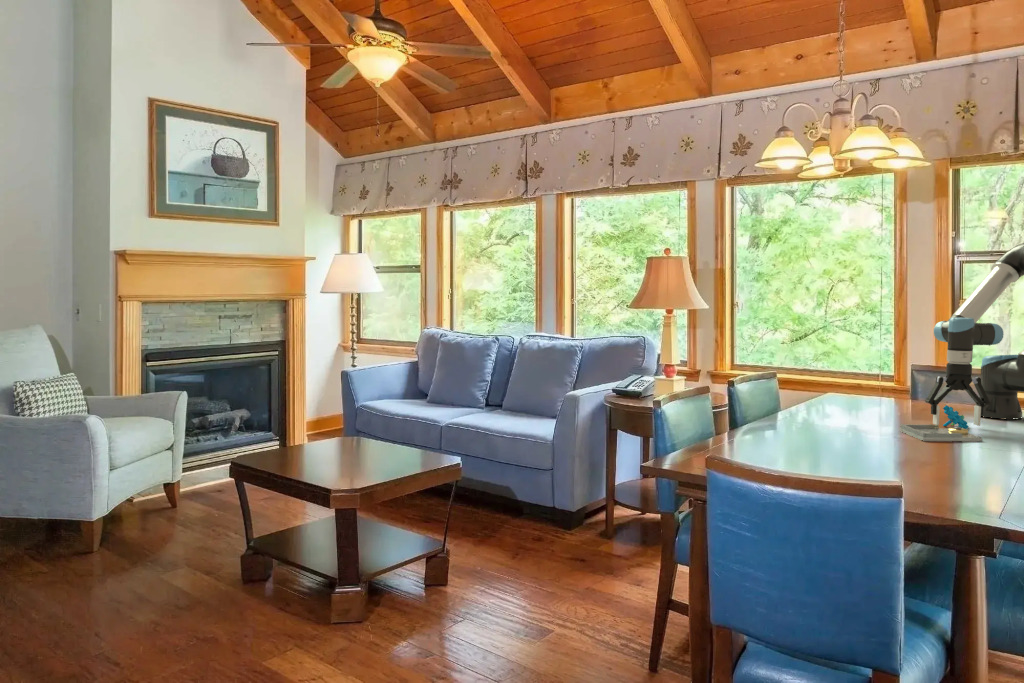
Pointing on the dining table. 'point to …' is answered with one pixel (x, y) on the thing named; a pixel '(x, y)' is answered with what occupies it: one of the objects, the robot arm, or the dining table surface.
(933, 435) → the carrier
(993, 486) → the dining table surface
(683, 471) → the dining table surface
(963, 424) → the gear
